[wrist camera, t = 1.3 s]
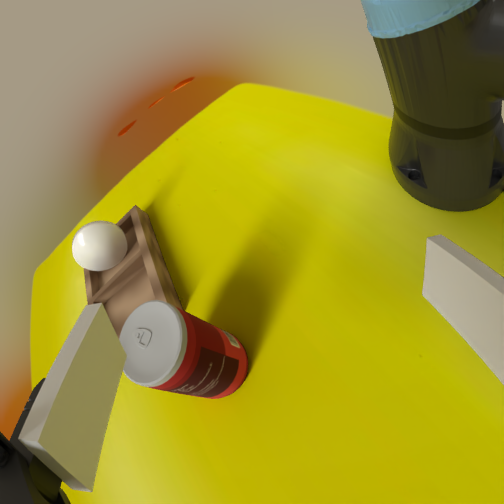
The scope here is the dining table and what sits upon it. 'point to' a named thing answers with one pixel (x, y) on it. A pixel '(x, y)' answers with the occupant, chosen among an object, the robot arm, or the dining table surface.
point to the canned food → (181, 352)
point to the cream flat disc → (99, 246)
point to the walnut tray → (132, 274)
